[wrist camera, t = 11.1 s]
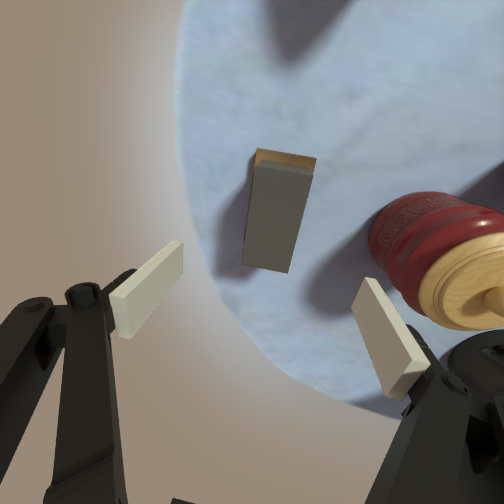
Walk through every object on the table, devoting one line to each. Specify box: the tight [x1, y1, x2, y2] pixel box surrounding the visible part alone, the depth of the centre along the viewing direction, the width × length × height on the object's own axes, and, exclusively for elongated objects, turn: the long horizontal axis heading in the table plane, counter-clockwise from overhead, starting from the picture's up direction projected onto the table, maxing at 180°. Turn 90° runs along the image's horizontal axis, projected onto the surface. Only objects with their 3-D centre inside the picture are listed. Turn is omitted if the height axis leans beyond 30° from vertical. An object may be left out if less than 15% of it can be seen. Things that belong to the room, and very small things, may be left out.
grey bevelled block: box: [241, 159, 313, 273], centre depth 29 cm, size 12×6×8 cm, turn 172°
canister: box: [368, 191, 504, 331], centre depth 26 cm, size 13×13×18 cm
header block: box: [244, 148, 316, 242], centre depth 32 cm, size 14×8×6 cm, turn 172°
